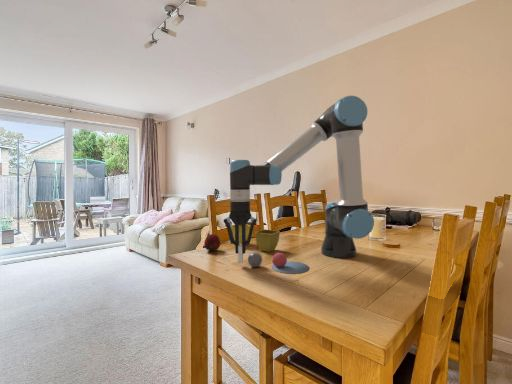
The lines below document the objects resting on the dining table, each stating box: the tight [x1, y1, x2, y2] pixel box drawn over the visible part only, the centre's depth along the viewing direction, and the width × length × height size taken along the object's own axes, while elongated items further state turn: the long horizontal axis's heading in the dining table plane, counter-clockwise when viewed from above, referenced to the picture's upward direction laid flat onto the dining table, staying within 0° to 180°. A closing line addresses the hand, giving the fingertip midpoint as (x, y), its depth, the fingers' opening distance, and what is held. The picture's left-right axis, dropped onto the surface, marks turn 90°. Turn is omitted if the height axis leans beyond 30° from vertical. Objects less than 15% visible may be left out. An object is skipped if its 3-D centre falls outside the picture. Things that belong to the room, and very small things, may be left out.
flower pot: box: [254, 229, 280, 253], centre depth 126 cm, size 9×9×9 cm
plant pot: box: [230, 224, 251, 246], centre depth 137 cm, size 10×10×10 cm
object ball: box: [271, 252, 288, 267], centre depth 101 cm, size 6×6×6 cm
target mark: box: [271, 260, 310, 275], centre depth 101 cm, size 14×14×1 cm
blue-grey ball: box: [247, 251, 263, 268], centre depth 102 cm, size 6×6×6 cm
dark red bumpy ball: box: [203, 233, 221, 252], centre depth 125 cm, size 7×8×8 cm
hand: (240, 261), depth 102 cm, fingers closed
